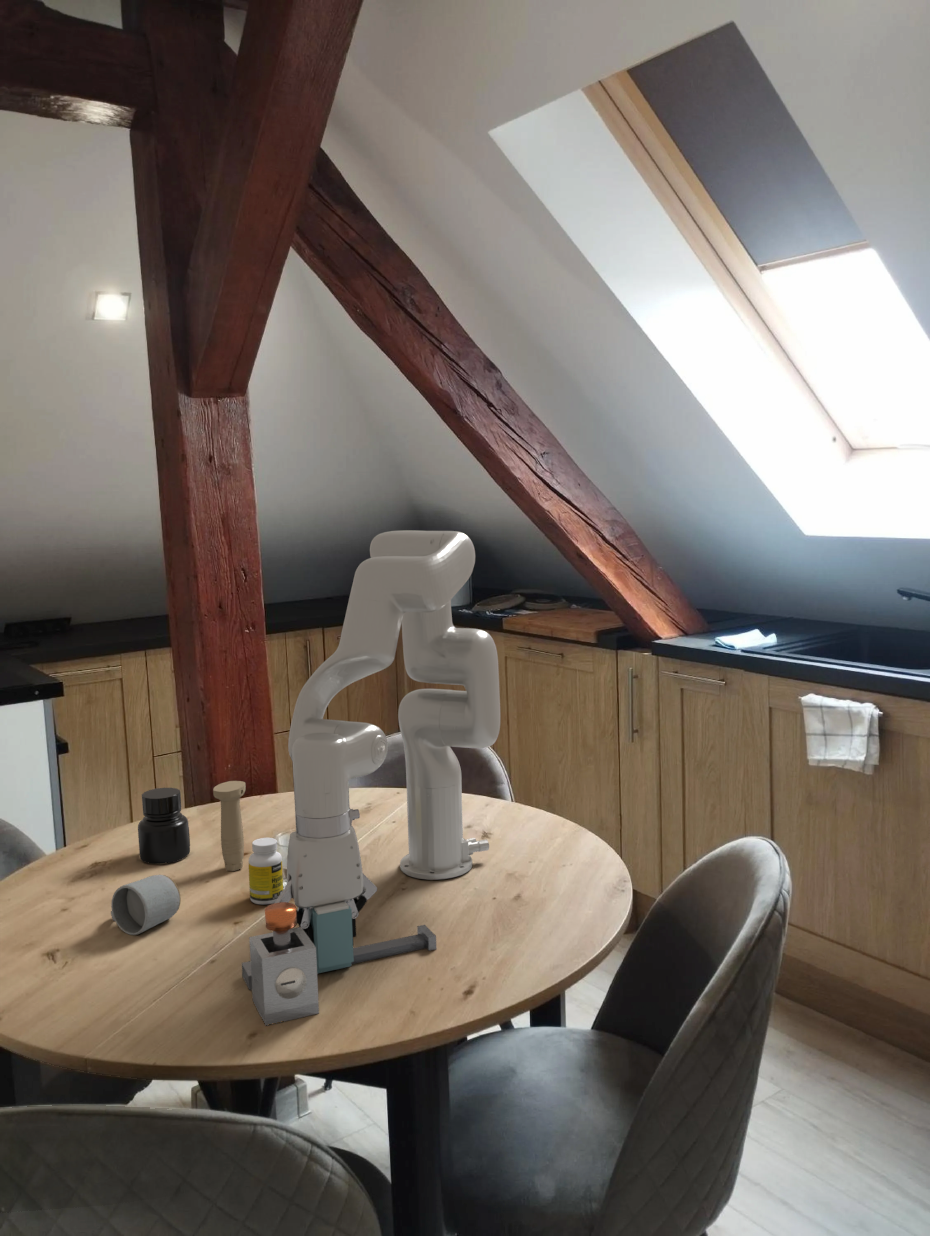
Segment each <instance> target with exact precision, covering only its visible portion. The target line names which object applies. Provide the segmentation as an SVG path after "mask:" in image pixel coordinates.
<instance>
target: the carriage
mask: <svg viewBox="0 0 930 1236" xmlns="http://www.w3.org/2000/svg"><path fill="white" fill-rule="evenodd" d="M310 925H311V926H312V927H313V934H314V945H315V947H316V959H317V975H318V974H321V973H327V972H331V971H335V970H340V969H344V968H348V967H352V964H351V962H354V957H353V948H354V945H353V943H354V937H353V933H352V909H351V908H350V907H349V906H348V904H347V903H346V902H345V901H341V902H336V903H331V904H326V905H321V906H315V907H313V910H312V916H311V920H310Z"/></svg>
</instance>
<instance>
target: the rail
mask: <svg viewBox="0 0 930 1236" xmlns="http://www.w3.org/2000/svg"><path fill="white" fill-rule="evenodd" d="M416 928H417V929H416V930H417V932H416V933H417V934H414V935H408V936H404V937H399V938H394V939H390V940H385V941H380V942H375V943H372V944H371V943H370V944H366V945H362V946H356V947H353V957H354V962H351V965H355V964H359V963H364V962H369V961H373V960H379V959H383V958H387V957H393V956H396V955H400V954H401V955H402V954H406V953H410V952H415V951H419V950H424V949H426V950H427V951H428V952H429V951H435V950H437V936H436V934H435V933H434V932H433V931H432V930H431V929H430V928H429V927H428V926H427V925H426V924H422V925H417V926H416ZM241 976H242V979H243V981H244V982H245V985H246V986H247V988H248V990H249V991H252V977H251V960H250V961H249V960H248V961H245V962H244V961H243V962H241Z"/></svg>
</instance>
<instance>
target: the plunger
mask: <svg viewBox="0 0 930 1236" xmlns="http://www.w3.org/2000/svg"><path fill="white" fill-rule="evenodd" d="M296 910H297V906H296V905H295V903H292V902H289V903H288V902H280V903H273V904H268V905H267V906H266V907H265V908H264V923H265V928H266V929H267V930H268V931H271V932H273V942H274V952H276V951H281V950H286V949H291V936H290V929H292V928H296V926H297V925H298V924H297V915H296Z"/></svg>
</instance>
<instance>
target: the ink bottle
mask: <svg viewBox="0 0 930 1236" xmlns="http://www.w3.org/2000/svg"><path fill="white" fill-rule="evenodd" d="M141 803H142V815H143V818H142V819H141V820H140V822H138V825H137V836H138V852H139V859H140V861H142V862H144V863H147V864H155V865H158V864H159V865H163V864H164V865H165V864H171V863H176V862H178V861H180V860H183V859H184V858H186V857H188V855H189V854H190V853H191V852H190V851H191V841H190V840H191V838H190V837H191V836H190V827H189V826H190V825H189V818H187V816H185V814H183V813H182V796H181V789H178V788H175V787H156V788H152V789H148V790H146V791H144V792H143V793H142V794H141Z"/></svg>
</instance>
